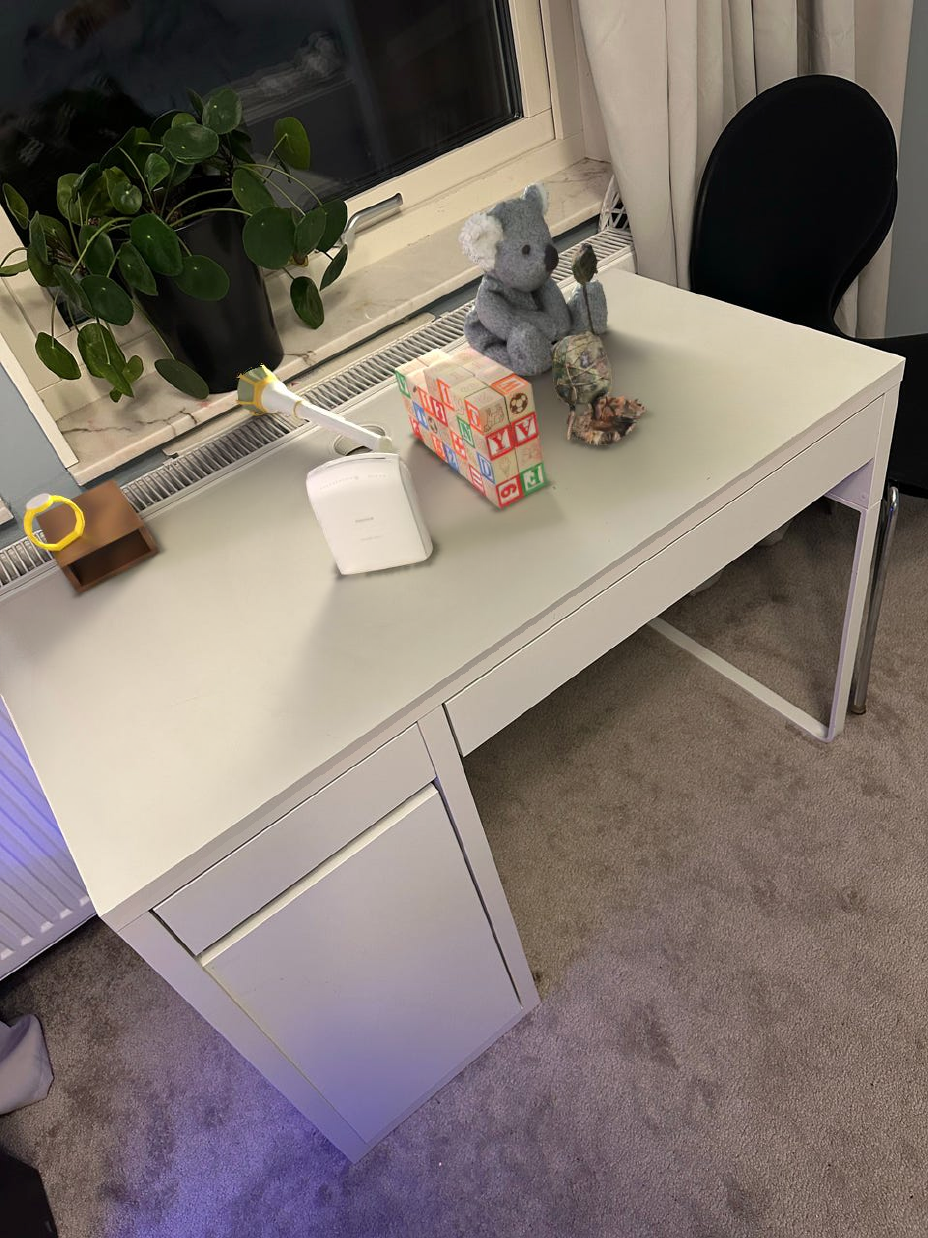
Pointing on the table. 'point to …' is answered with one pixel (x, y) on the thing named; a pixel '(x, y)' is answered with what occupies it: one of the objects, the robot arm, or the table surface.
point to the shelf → (110, 560)
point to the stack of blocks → (476, 420)
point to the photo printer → (369, 512)
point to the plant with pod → (590, 374)
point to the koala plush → (522, 286)
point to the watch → (41, 504)
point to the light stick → (299, 408)
